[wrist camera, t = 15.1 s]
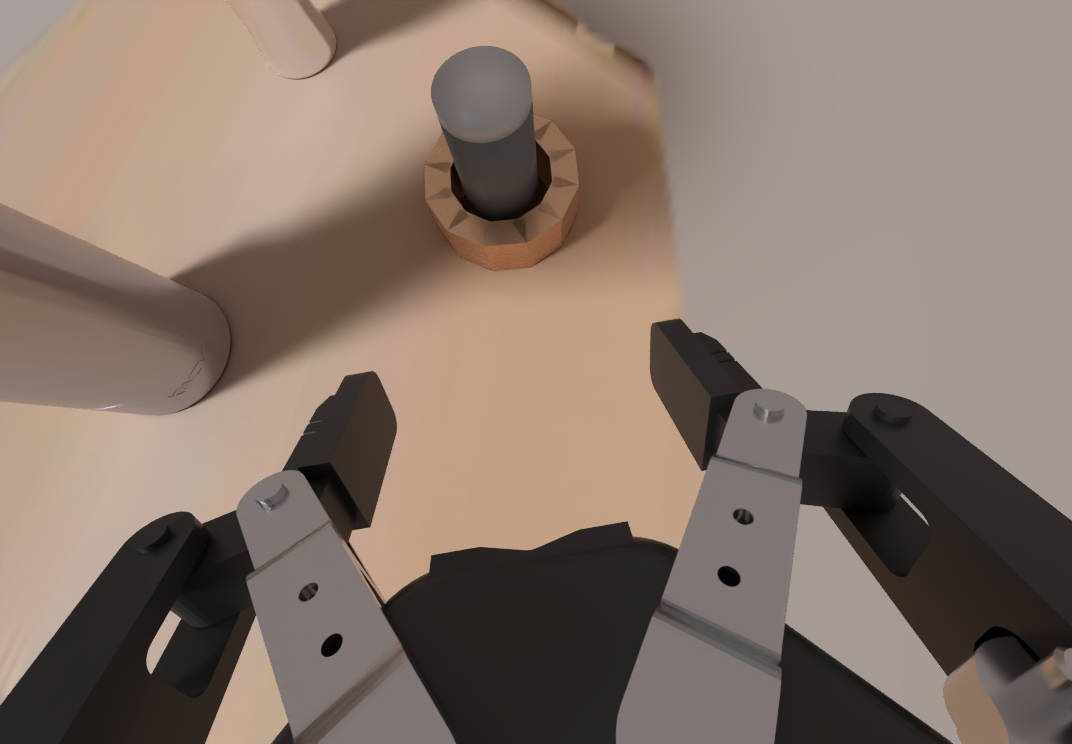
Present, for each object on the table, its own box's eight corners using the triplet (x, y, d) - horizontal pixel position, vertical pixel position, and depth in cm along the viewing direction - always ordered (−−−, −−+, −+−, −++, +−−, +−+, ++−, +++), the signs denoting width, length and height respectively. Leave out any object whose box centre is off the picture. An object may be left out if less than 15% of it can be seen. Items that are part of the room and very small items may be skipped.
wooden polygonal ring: (415, 237, 30) (397, 209, 26) (477, 128, 31) (467, 89, 28) (538, 290, 29) (536, 269, 25) (597, 174, 30) (602, 139, 27)
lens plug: (460, 222, 30) (412, 109, 20) (492, 167, 31) (461, 33, 21) (520, 248, 29) (501, 144, 20) (551, 192, 30) (548, 65, 20)
